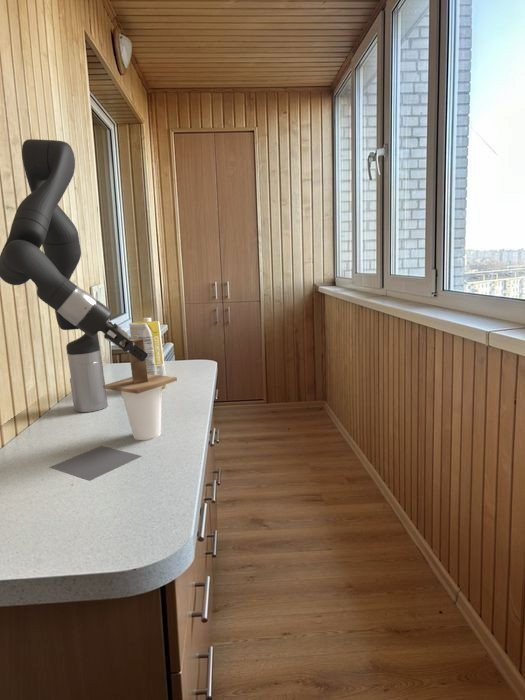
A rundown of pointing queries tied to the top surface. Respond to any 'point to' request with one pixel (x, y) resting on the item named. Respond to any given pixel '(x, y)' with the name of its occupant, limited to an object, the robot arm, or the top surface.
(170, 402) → the top surface
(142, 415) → the foam cup
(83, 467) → the mat
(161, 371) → the juice carton
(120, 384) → the lid
